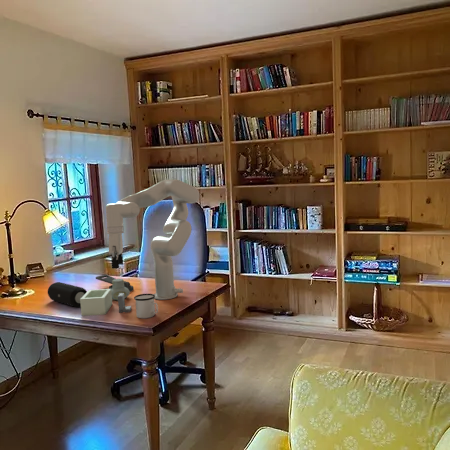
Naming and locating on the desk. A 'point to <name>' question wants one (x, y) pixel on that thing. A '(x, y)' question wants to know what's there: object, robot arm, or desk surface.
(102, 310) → the well box
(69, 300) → the portable speaker
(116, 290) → the air freshener
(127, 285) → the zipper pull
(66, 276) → the desk surface
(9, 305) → the desk surface
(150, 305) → the mug
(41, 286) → the desk surface
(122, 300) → the steel bracket
